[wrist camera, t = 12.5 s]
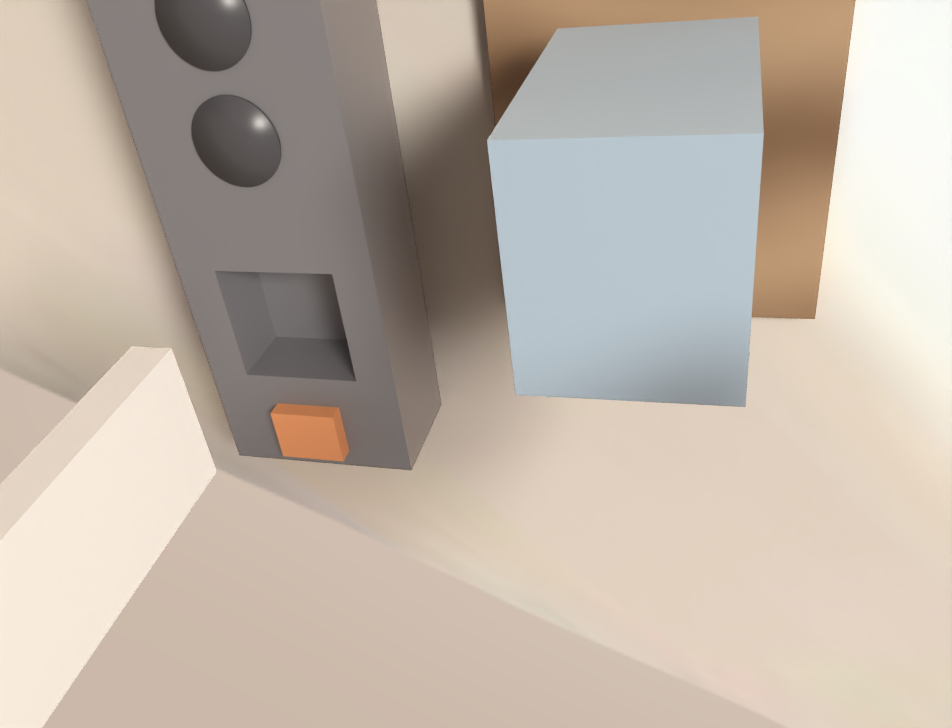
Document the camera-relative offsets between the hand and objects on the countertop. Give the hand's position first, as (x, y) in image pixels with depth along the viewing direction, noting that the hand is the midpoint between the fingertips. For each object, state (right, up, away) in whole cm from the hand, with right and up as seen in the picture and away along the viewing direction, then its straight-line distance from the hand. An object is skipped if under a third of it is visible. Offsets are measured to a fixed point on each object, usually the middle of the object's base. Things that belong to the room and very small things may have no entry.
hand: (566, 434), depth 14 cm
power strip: (-8, +12, +14) cm, 20 cm away
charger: (+4, +9, +12) cm, 16 cm away
